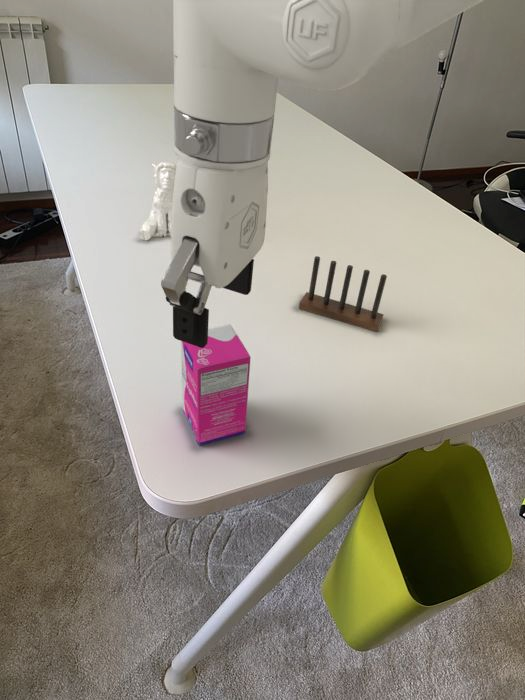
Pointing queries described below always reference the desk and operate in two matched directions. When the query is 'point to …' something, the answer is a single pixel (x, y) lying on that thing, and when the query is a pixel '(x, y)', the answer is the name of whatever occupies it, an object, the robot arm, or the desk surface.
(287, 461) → the desk surface
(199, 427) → the supplement box
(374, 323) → the rack
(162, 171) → the white creature statuette
